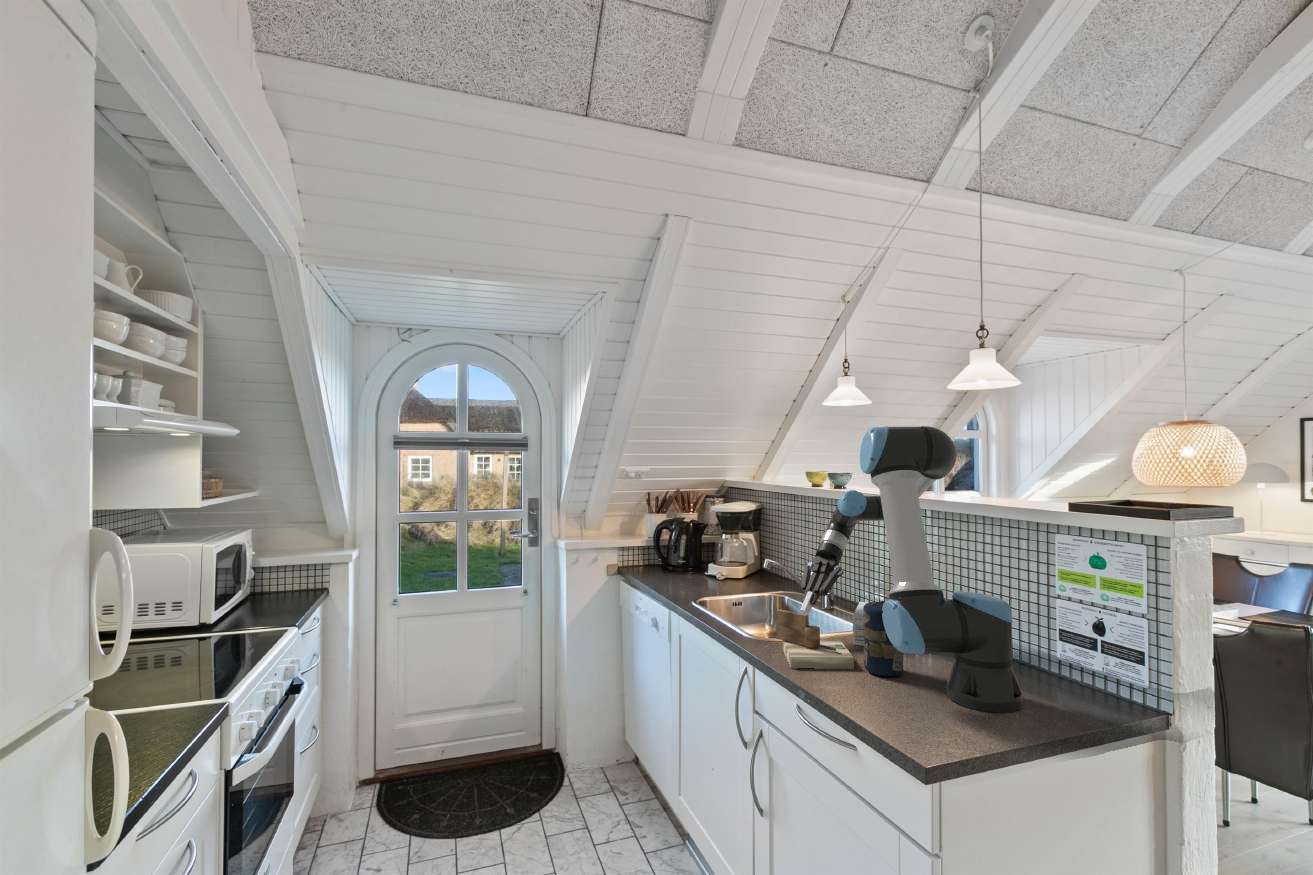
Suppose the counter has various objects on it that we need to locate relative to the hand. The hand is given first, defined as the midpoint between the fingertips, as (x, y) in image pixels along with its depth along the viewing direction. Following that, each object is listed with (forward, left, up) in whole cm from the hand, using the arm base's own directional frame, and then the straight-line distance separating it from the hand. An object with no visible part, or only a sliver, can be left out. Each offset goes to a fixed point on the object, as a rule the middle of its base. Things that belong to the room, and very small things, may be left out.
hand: (804, 612), depth 180 cm
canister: (-22, -16, -10) cm, 29 cm away
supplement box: (+7, -23, -10) cm, 26 cm away
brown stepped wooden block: (-11, +1, -6) cm, 12 cm away
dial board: (-12, -1, -9) cm, 15 cm away
